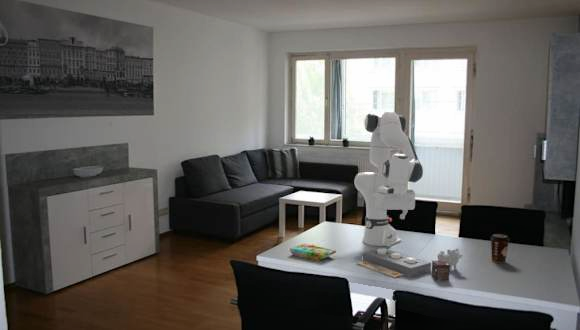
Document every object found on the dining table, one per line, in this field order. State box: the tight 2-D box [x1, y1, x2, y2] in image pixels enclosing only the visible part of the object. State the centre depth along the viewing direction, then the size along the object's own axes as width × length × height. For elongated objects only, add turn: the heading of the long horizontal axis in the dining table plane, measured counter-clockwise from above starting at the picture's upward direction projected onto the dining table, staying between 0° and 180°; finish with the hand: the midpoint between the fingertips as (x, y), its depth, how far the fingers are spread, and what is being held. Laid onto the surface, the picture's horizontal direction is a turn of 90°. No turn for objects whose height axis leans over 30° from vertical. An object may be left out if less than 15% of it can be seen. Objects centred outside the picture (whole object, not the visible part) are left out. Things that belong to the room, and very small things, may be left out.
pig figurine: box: [437, 247, 463, 272], centre depth 239 cm, size 5×13×11 cm, turn 32°
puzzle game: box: [289, 243, 337, 262], centre depth 257 cm, size 12×5×20 cm
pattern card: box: [356, 260, 405, 279], centre depth 237 cm, size 6×24×1 cm, turn 37°
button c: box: [406, 256, 416, 264], centre depth 236 cm, size 4×4×3 cm
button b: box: [391, 252, 401, 259], centre depth 244 cm, size 4×4×3 cm
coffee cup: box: [490, 233, 511, 264], centre depth 252 cm, size 9×8×13 cm
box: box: [431, 260, 451, 282], centre depth 226 cm, size 6×6×7 cm
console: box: [362, 247, 432, 278], centre depth 244 cm, size 14×30×4 cm, turn 37°
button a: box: [376, 247, 387, 255], centre depth 251 cm, size 4×4×3 cm
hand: (393, 218), depth 235 cm, fingers open, 8 cm apart
